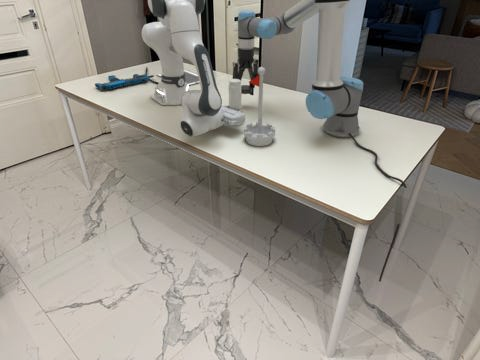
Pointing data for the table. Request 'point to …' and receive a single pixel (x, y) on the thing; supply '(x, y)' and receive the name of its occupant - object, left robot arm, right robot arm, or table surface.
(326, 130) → the right robot arm
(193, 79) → the tablet
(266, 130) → the flag stand
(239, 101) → the jar
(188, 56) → the left robot arm
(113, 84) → the submachine gun
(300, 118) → the table surface
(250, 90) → the lid
